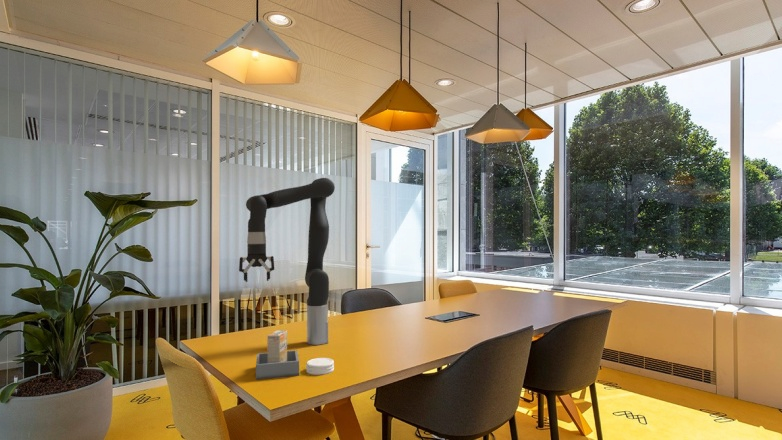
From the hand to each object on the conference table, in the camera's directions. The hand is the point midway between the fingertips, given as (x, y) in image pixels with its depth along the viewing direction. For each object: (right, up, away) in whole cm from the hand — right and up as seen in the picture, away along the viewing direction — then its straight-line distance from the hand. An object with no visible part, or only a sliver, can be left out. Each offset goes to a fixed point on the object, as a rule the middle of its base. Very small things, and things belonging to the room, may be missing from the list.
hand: (257, 281), depth 183 cm
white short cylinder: (+31, -30, -25) cm, 49 cm away
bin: (+15, -29, -25) cm, 41 cm away
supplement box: (+15, -29, -25) cm, 41 cm away
